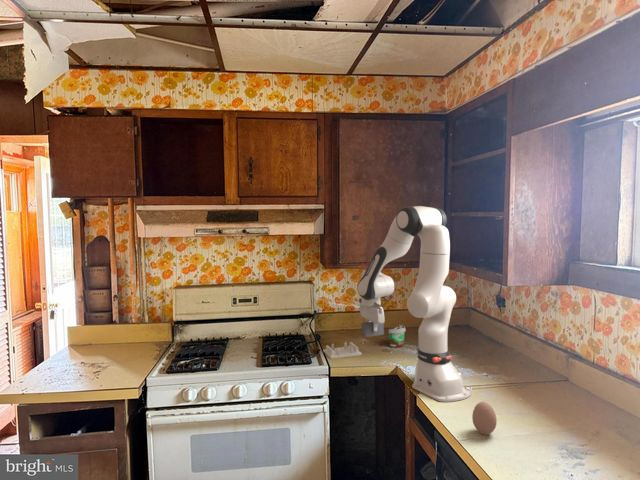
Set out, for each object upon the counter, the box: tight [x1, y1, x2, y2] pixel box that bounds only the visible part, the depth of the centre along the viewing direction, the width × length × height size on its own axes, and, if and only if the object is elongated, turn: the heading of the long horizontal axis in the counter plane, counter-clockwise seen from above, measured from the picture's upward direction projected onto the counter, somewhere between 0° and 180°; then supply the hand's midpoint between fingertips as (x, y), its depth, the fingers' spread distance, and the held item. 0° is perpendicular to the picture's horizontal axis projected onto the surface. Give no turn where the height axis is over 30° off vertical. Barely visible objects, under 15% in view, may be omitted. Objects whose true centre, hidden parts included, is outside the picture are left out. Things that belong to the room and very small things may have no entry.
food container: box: [388, 323, 407, 349], centre depth 204 cm, size 12×6×10 cm, turn 143°
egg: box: [471, 401, 498, 436], centre depth 118 cm, size 7×7×10 cm
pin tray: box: [322, 341, 363, 360], centre depth 195 cm, size 12×16×4 cm
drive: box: [360, 321, 385, 338], centre depth 188 cm, size 4×10×6 cm, turn 108°
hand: (372, 329), depth 188 cm, fingers closed on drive, 4 cm apart
